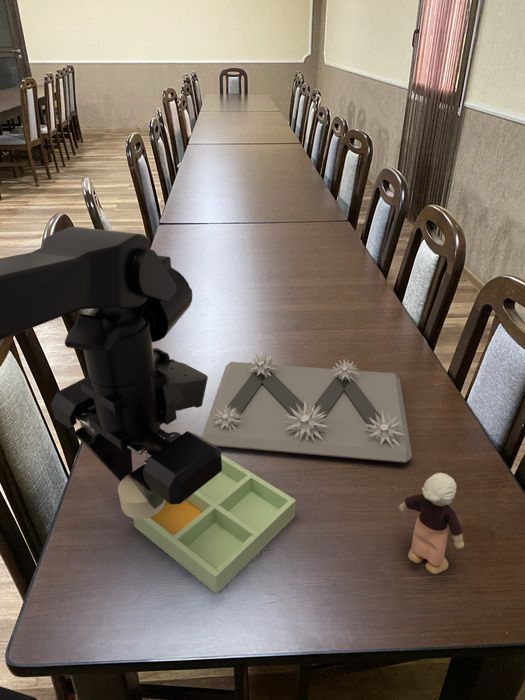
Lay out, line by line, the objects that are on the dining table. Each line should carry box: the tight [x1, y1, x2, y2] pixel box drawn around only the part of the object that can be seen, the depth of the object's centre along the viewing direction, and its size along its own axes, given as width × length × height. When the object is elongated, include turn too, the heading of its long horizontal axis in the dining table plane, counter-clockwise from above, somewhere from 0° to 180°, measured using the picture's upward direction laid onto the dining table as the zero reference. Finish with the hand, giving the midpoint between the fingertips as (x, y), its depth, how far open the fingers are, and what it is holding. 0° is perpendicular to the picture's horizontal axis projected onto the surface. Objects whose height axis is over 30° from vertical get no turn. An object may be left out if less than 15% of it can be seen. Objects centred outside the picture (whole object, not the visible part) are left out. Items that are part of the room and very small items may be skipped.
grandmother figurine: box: [398, 472, 465, 575], centre depth 59 cm, size 8×4×13 cm, turn 58°
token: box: [117, 474, 166, 519], centre depth 56 cm, size 5×5×2 cm
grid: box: [132, 453, 297, 595], centre depth 66 cm, size 14×14×3 cm
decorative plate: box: [201, 351, 413, 464], centre depth 83 cm, size 30×22×7 cm
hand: (142, 493), depth 56 cm, fingers closed on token, 4 cm apart
